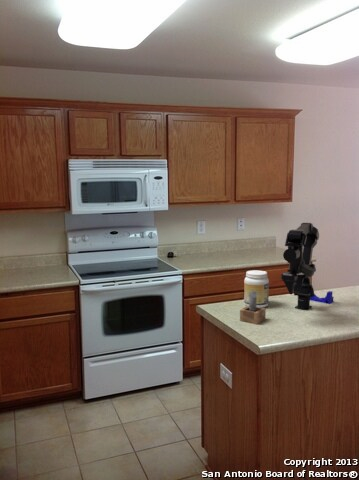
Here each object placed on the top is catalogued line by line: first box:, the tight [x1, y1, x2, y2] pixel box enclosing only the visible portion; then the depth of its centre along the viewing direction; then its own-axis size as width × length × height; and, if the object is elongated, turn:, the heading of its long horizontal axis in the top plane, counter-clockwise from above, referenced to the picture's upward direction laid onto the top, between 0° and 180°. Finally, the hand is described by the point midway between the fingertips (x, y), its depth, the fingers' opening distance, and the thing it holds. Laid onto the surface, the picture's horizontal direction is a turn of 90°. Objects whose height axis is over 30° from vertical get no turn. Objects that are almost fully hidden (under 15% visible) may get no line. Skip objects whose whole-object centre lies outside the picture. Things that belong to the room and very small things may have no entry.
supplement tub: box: [243, 269, 270, 308], centre depth 210 cm, size 12×12×17 cm
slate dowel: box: [249, 291, 257, 312], centre depth 188 cm, size 3×3×13 cm
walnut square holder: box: [239, 306, 266, 325], centre depth 189 cm, size 8×8×5 cm
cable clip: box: [309, 290, 334, 305], centre depth 216 cm, size 12×4×6 cm, turn 46°
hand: (295, 291), depth 190 cm, fingers open, 9 cm apart
